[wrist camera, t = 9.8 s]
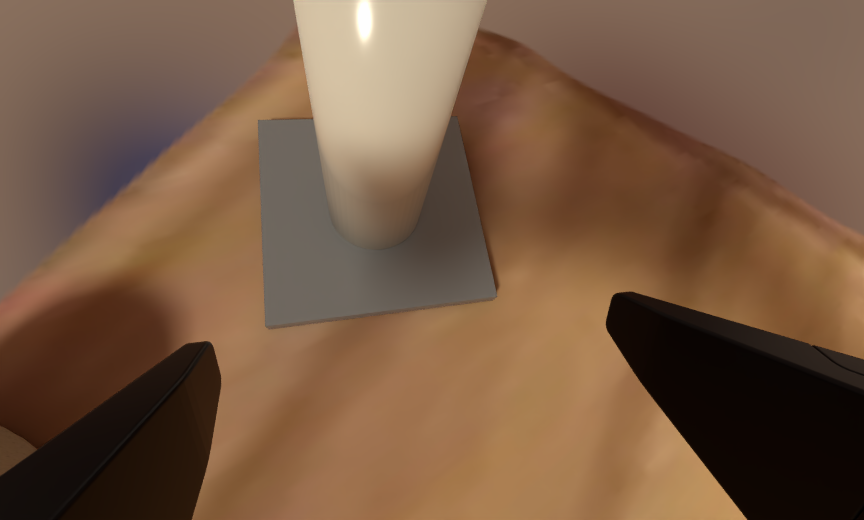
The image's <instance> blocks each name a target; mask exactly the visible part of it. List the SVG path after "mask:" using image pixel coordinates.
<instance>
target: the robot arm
mask: <svg viewBox="0 0 864 520" xmlns="http://www.w3.org/2000/svg"><path fill="white" fill-rule="evenodd" d="M606 328H607V331H608V333H609V334H610V336H611V337H612V339H613V341H614V342H615V344H616V345H617V347H618V348H619V350H620V351H621V353H622V355H623V356H624V358H625V359H626V361H627V362H628V364H629V365H630V367H631V369H632V370H633V372H634V373H635V375H636V376H637V378H638V379H639V381H640V382H641V383H642V385H643V386H644V388H645V389H646V390H647V392H648V393H649V394H650V395H651V397H652V398H653V399H654V401H655V402H656V403H657V404H658V406H659V407H660V408H661V409H662V411H663V412H664V413H665V415H666V416H667V417H668V418H669V420H670V421H671V422H672V424H673V425H674V426H675V427H676V429H677V430H678V431H679V433H680V434H681V435H682V436H683V438H684V439H685V440H686V442H687V443H688V444H689V445H690V447H691V448H692V449H693V451H694V452H695V453H696V454H697V456H698V457H699V458H700V460H701V461H702V462H703V463H704V465H705V466H706V467H707V469H708V470H709V471H710V472H711V474H712V475H713V476H714V478H715V479H716V480H717V481H718V483H719V484H720V485H721V487H722V488H723V489H724V490H725V492H726V493H727V494H728V495H729V497H730V498H731V499H732V501H733V502H734V503H735V504H736V506H737V507H738V508H739V510H740V511H741V512H742V513H743V515H744V516H745V517H746V519H747V520H864V360H863V359H860V358H856V357H853V356H849V355H846V354H842V353H839V352H835V351H832V350H829V349H825V348H822V347H818V346H815V345H813V346H811V345H810V344H808V343H805V342H801V341H798V340H794V339H791V338H788V337H784V336H781V335H777V334H774V333H771V332H767V331H764V330H760V329H757V328H754V327H750V326H747V325H743V324H740V323H737V322H733V321H730V320H726V319H723V318H720V317H716V316H713V315H710V314H706V313H703V312H699V311H696V310H693V309H689V308H686V307H682V306H679V305H676V304H672V303H669V302H665V301H662V300H659V299H655V298H652V297H648V296H645V295H642V294H638V293H635V292H621V293H616V294H614V295H613V297H612V299H611V303H610V307H609V311H608V315H607V319H606ZM220 389H221V374H220V370H219V366H218V363H217V359H216V355H215V351H214V347H213V345H212V344H211V343H210V342H208V341H204V342H195V343H188V344H185V345H184V346H182V347H181V348H179V349H178V350H177V351H175V352H174V353H172V354H171V355H170V356H168V357H167V358H165V359H164V360H163V361H161V362H160V363H158V364H157V365H156V366H154V367H153V368H151V369H150V370H148V371H147V372H146V373H144V374H143V375H141V376H140V377H139V378H137V379H136V380H134V381H133V382H132V383H130V384H129V385H127V386H126V387H125V388H123V389H122V390H120V391H119V392H118V393H116V394H115V395H113V396H112V397H110V398H109V399H108V400H106V401H105V402H103V403H102V404H101V405H99V406H98V407H96V408H95V409H94V410H92V411H91V412H89V413H88V414H87V415H85V416H84V417H82V418H81V419H79V420H78V421H77V422H75V423H74V424H72V425H71V426H70V427H68V428H67V429H65V430H64V431H63V432H61V433H60V434H58V435H57V436H56V437H54V438H53V439H51V440H50V441H48V442H47V443H46V444H44V445H43V446H41V447H40V448H39V449H37V450H36V451H34V452H33V453H32V454H30V455H29V456H27V457H26V458H25V459H23V460H22V461H20V462H19V463H17V464H16V465H15V466H13V467H12V468H10V469H9V470H8V471H6V472H5V473H3V474H2V475H1V476H0V520H192V517H193V513H194V510H195V507H196V503H197V500H198V496H199V493H200V489H201V486H202V482H203V479H204V476H205V472H206V468H207V464H208V460H209V455H210V450H211V444H212V438H213V432H214V426H215V420H216V414H217V407H218V401H219V395H220Z"/></svg>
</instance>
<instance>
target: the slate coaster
mask: <svg viewBox="0 0 864 520" xmlns="http://www.w3.org/2000/svg"><path fill="white" fill-rule="evenodd" d="M258 138H259V165H260V193H261V221H262V249H263V276H264V304H265V327H267V328H268V329H276V328H284V327H291V326H299V325H307V324H314V323H322V322H330V321H337V320H345V319H353V318H360V317H368V316H376V315H383V314H391V313H399V312H406V311H414V310H422V309H429V308H437V307H445V306H452V305H460V304H468V303H475V302H483V301H491V300H493V299H495V298H496V297H497V293H496V288H495V284H494V279H493V275H492V270H491V266H490V261H489V257H488V253H487V248H486V244H485V239H484V235H483V230H482V226H481V221H480V217H479V212H478V208H477V203H476V199H475V194H474V190H473V185H472V181H471V176H470V172H469V167H468V163H467V158H466V154H465V149H464V145H463V140H462V136H461V132H460V127H459V123H458V118H457V116H451V117H450V120H449V124H448V127H447V130H446V133H445V136H444V140H443V143H442V146H441V149H440V152H439V156H438V159H437V162H436V165H435V168H434V171H433V175H432V178H431V181H430V184H429V187H428V191H427V194H426V197H425V200H424V203H423V206H422V210H421V213H420V216H419V219H418V222H417V225H416V227H415V229H414V231H413V232H412V233H411V235H410V236H409V237H408V238H407V239H406V240H404V241H403V242H401V243H400V244H398V245H396V246H393V247H391V248H387V249H381V250H371V249H365V248H361V247H358V246H355V245H353V244H351V243H350V242H348V241H347V240H345V239H344V238H343V237H342V236H341V235H340V234H339V233H338V232H337V231H336V229H335V227H334V226H333V224H332V221H331V218H330V214H329V208H328V202H327V196H326V190H325V185H324V179H323V173H322V167H321V161H320V155H319V149H318V143H317V137H316V131H315V125H314V119H291V120H258Z"/></svg>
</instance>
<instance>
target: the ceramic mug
mask: <svg viewBox="0 0 864 520" xmlns="http://www.w3.org/2000/svg"><path fill="white" fill-rule="evenodd" d="M36 450H37V449H36V448H35V447H34V446H33V445H31V444H30V443H29V442H28V441H26V440H25V439H24V438H22V437H20V436H18V435H16V434H14V433H12V432H11V431H9V430H8V429H6V428H4V427H2V426H0V476H1V475H2V474H3V473H5V472H6V471H8V470H9V469H10V468H12V467H13V466H15V465H16V464H17V463H19V462H20V461H22V460H23V459H25V458H26V457H27V456H29V455H30V454H32V453H33V452H34V451H36Z"/></svg>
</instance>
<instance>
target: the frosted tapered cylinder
mask: <svg viewBox="0 0 864 520" xmlns="http://www.w3.org/2000/svg"><path fill="white" fill-rule="evenodd" d="M486 2H487V0H294V7H295V13H296V19H297V25H298V31H299V37H300V42H301V48H302V54H303V60H304V66H305V72H306V78H307V84H308V90H309V96H310V102H311V108H312V114H313V119H314V125H315V131H316V137H317V143H318V149H319V155H320V161H321V167H322V173H323V179H324V185H325V190H326V196H327V202H328V208H329V214H330V218H331V221H332V224H333V226H334V227H335V229H336V231H337V232H338V233H339V234H340V235H341V236H342V237H343V238H344V239H345V240H347V241H348V242H350V243H351V244H353V245H355V246H358V247H361V248H365V249H371V250H381V249H387V248H391V247H393V246H396V245H398V244H400V243H401V242H403V241H404V240H406V239H407V238H408V237H409V236H410V235H411V233H412V232H413V231H414V229H415V227H416V225H417V222H418V219H419V216H420V213H421V210H422V206H423V203H424V200H425V197H426V194H427V191H428V187H429V184H430V181H431V178H432V175H433V171H434V168H435V165H436V162H437V159H438V156H439V152H440V149H441V146H442V143H443V140H444V136H445V133H446V130H447V127H448V124H449V120H450V117H451V114H452V111H453V108H454V105H455V101H456V98H457V95H458V92H459V89H460V85H461V82H462V79H463V76H464V73H465V69H466V66H467V63H468V60H469V57H470V54H471V50H472V47H473V44H474V41H475V38H476V34H477V31H478V28H479V24H480V22H481V19H482V15H483V12H484V8H485V6H486Z"/></svg>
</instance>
